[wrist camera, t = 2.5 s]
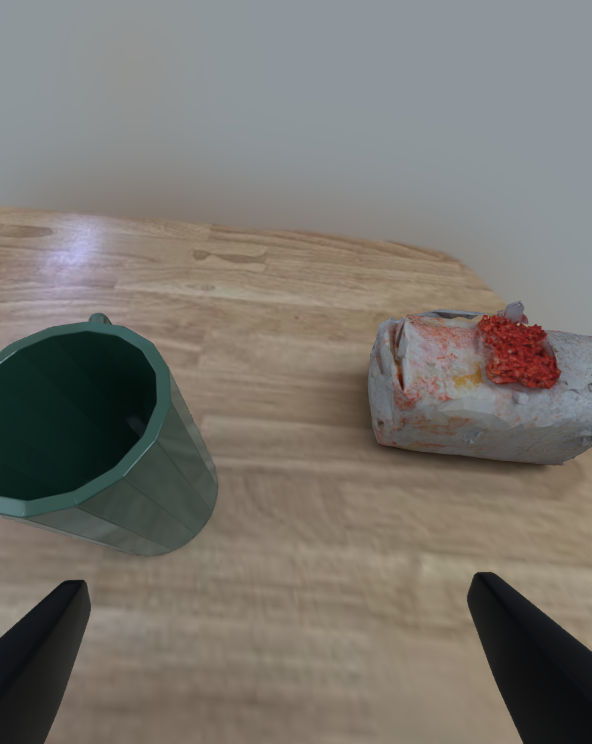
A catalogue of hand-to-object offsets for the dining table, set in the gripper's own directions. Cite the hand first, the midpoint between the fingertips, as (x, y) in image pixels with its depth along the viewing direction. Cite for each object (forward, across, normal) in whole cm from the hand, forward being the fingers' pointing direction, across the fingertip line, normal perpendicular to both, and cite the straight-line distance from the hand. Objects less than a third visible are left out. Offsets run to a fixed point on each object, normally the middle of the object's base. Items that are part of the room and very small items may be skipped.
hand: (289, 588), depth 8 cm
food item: (+17, -14, +4) cm, 22 cm away
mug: (+14, +7, +8) cm, 18 cm away
